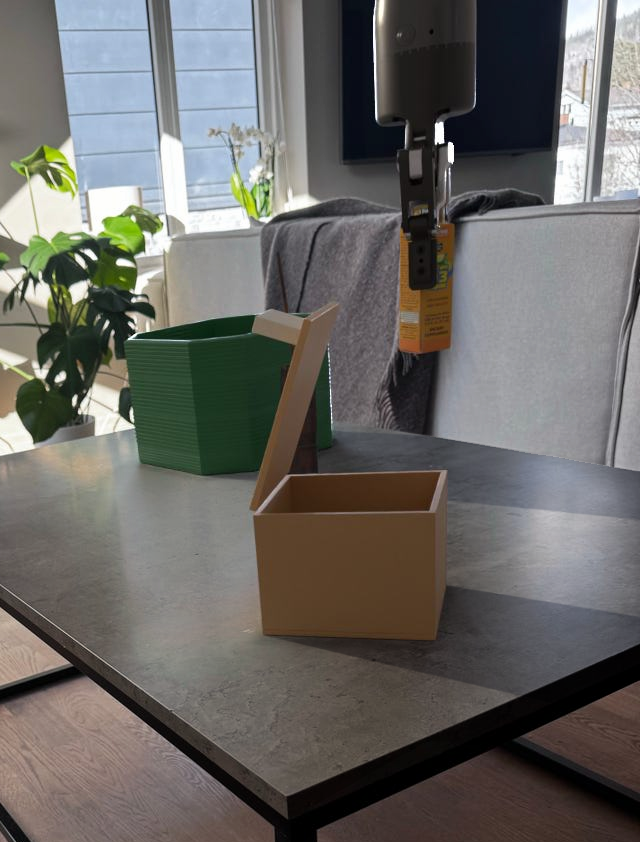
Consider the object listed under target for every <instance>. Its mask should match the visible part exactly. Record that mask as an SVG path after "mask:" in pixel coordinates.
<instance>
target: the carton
mask: <svg viewBox="0 0 640 842" xmlns="http://www.w3.org/2000/svg"><path fill="white" fill-rule="evenodd" d="M252 520H253V533H254V534H253V535H254V545H255V558H256V559H255V560H256V569H257V579H258V580H257V581H258V582H257V583H258V593H259V605H260V618H261V629H262V635H263V636H264V635H265V636H289V637H290V636H291V637H292V636H293V637H294V636H295V637H322V638H346V639H347V638H349V639H377V640H406V641H407V640H408V641H436V638H437V634H438V629H439V624H440V618H441V615H442V609H443V604H444V599H445V595H446V590H447V583H448V581H447V580H448V579H447V578H448V470H447V469H442V470H441V469H439V470H437V469H436V470H404V471H375V472H374V471H373V472H371V471H369V472H367V471H366V472H340V473H339V472H337V473H318V474H300V475H286V476H285V477H284V478H283V480H282V481H281V482H280V483H279V484H278V486H277V487H276V488H275V489H274V490H273V492H272V493H271V494H270V495H269V497H268V498H267V499H266V500H265V501H264V503H263V504H262V505H261V506H260V507H259V509H258V510H257V511H256V512H255V511H254V513H253V515H252Z"/></svg>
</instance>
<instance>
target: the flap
mask: <svg viewBox="0 0 640 842" xmlns="http://www.w3.org/2000/svg"><path fill="white" fill-rule="evenodd" d="M340 306H341V302H340V301H337V300H333V301H331V302H329V303H327V304H326V305H324V306H322V307H321V308H319V309H317V310H315V311H314V312H312V313H313V314H311V315H309V316H308V317H306V318H301V317H298V316H294V315H291V314H287V313H285V311H280V310H277V309H275V308H274V309H273V308H270V309H268V310H266V311H263V312H262V313H259V314H260V315H258V316H256V317H255V321H254V324H253V328H252V332H254V333H257V334H260V335H264V336H267V337H270V338H274V339H277V340H280V341H284V342H287V343H290V344H293V345H296V347H295V351H294V354H293V358H292V361H291V365H290V368H289V372H288V375H287V379H286V382H285V386H284V389H283V393H282V396H281V400H280V403H279V407H278V410H277V414H276V417H275V421H274V424H273V428H272V431H271V435H270V438H269V441H268V445H267V448H266V452H265V455H264V459H263V462H262V466H261V469H259V473H258V477H257V481H256V483H255V487H254V491H253V495H252V497H251V501H250V505H249V509H248V510H249V511H251V512H254V513H255V512H256V511H257V510H258V509H259V508H260V506H261V505H262V504H263V503H264V501H265V500H266V499H267V498H268V497H269V495H270V494H271V493H272V492H273V491H274V489H275V488H276V487H277V486H278V484H279V483H280V482H281V481H282V480H283V478H284V477H285V476H286V475H287V474H288V472H289V470H290V467H291V464H292V460H293V457H294V454H295V451H296V447H297V444H298V441H299V437H300V434H301V431H302V427H303V424H304V421H305V418H306V414H307V411H308V408H309V404H310V401H311V398H312V395H313V391H314V388H315V385H316V381H317V378H318V375H319V372H320V368H321V365H322V362H323V358H324V355H325V352H326V348H327V345H328V342H330V339H331V335H332V331H333V329H334V325H335V322H336V318H337V315H338V311H339V309H340Z"/></svg>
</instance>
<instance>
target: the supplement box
mask: <svg viewBox="0 0 640 842" xmlns="http://www.w3.org/2000/svg"><path fill="white" fill-rule="evenodd" d="M438 226H440V232H439V233H438V237H437V238H432V239H437V285H436V286H435V287H434V288H432V289H425V290H416V291H414V290H411V289H410V288H409V272H408V242H412V241H406V237H404V234H403V229H401V228H400V229H399V318H398V321H399V322H398V325H399V326H398V328H399V329H398V330H399V333H398V334H399V335H398V336H399V337H398V338H399V339H398V341H399V342H398V348H399V351H400V352H403V353H408V354H409V353H410V354H418V355H419V354H420V355H422V354H428V353H433V352H438V351H443V350H449V349H451V344H452V342H451V341H452V317H453V314H452V313H453V311H452V310H453V291H454V290H453V286H454V283H453V282H454V256H455V252H454V251H455V230H456V229H455V228H456V227H455V224H454V223H451V222H447V223H439V225H438Z"/></svg>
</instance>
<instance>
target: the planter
mask: <svg viewBox="0 0 640 842" xmlns="http://www.w3.org/2000/svg"><path fill="white" fill-rule="evenodd" d="M288 313H289V312H288ZM313 313H314V312H301V313H300V312H299V313H297V312H296V313H293V312H292V313H289V314H291V315H294V316H298V317H301V318H306V317H308V316H309V315H311V314H313ZM260 314H261V313H251V314H243V315H233V316H224V317H215V318H209V319H204V320H199V321H193V322H189V323H184V324H183V323H182V324H178V325H173V326H170V327H168V326H167V327H163V328H158V329H154V330H148V331H143V332H137V333H135V334H133V335H132V336H130V337H129V338H127V339H126V340H124V341H123V345H124V346H123V348H124V353H125V354H124V357H125V361H126V362H125V364H126V369H127V370H126V372H127V375H128V378H127V380H128V385H129V386H128V387H129V392H130V394H129V395H130V396H131V397H130V400H131V401H130V403H131V408H132V416H133V424H134V425H133V427H134V431H135V432H134V434H135V435H136V436H135V442H136V444H137V445H136V446H137V453H138V454H137V455H138V461H139V462H140V463H141V464H147V465H151V466H155V467H160V468H166V469H170V470H175V471H181V472H185V473H189V474H194V475H200V476H208V475H209V476H210V475H222V474H235V473H247V472H249V473H250V472H255V471H258V470H260V469H261V466H262V462H263V459H264V455H265V452H266V448H267V445H268V441H269V438H270V435H271V431H272V428H273V424H274V421H275V417H276V414H277V410H278V407H279V403H280V400H281V397H280V386H281V382H280V377H281V366H287V365H291V361H292V359H291V352H290V346H289V343H287V342H284V341H280V340H277V339H274V338H270V337H267V336H264V335H260V334H257V333H254V332H252V328H253V324H254V321H255V317H256V316H258V315H260ZM329 342H330V341H329ZM329 342H328V345H327V348H326V352H325V355H324V358H323V362H322V365H321V368H320V372H319V375H318V378H317V381H316V407H317V410H316V413H317V443H318V448H317V451H318V452H319V451H323V450H327V449H329V448H332V447H333V445H334V444H333V443H334V442H333V440H334V439H333V412H332V411H333V409H332V408H333V407H332V387H331V386H332V385H331V384H332V383H331V362H330V343H329ZM293 347H294V351H295V347H296V345H294V346H293Z"/></svg>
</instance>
